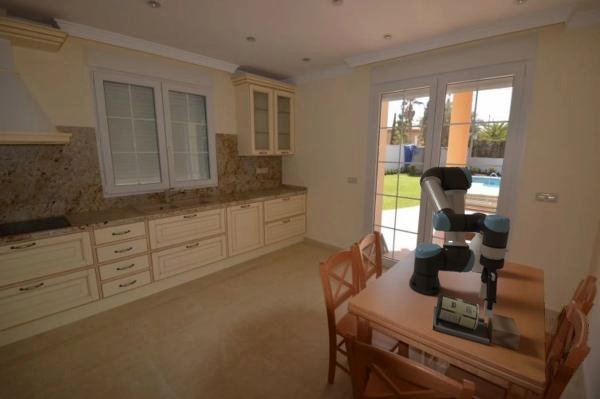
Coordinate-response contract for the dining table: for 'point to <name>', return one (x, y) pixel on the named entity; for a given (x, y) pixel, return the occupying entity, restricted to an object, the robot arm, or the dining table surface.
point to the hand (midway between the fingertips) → (485, 306)
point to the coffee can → (457, 311)
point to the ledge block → (503, 331)
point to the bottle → (476, 251)
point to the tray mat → (462, 329)
